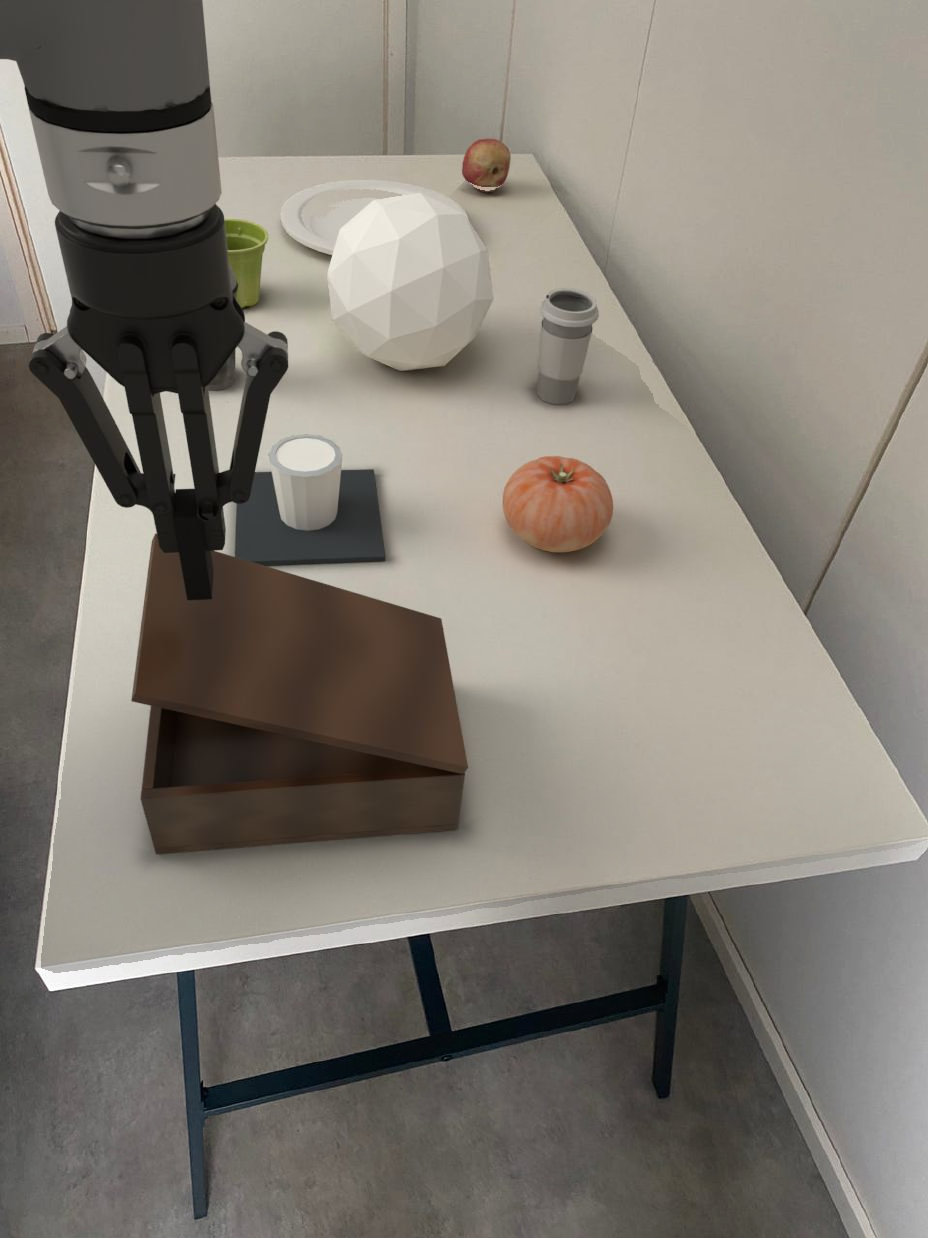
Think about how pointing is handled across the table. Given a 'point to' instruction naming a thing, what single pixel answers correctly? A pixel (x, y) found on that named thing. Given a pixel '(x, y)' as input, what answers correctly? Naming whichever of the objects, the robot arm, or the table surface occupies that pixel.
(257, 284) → the plant pot
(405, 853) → the table surface
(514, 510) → the tomato
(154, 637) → the chest lid
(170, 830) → the chest
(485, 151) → the fruit
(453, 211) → the ball
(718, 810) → the table surface
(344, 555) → the drying mat
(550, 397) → the cup
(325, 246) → the plate
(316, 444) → the white grey-rimmed cylinder
